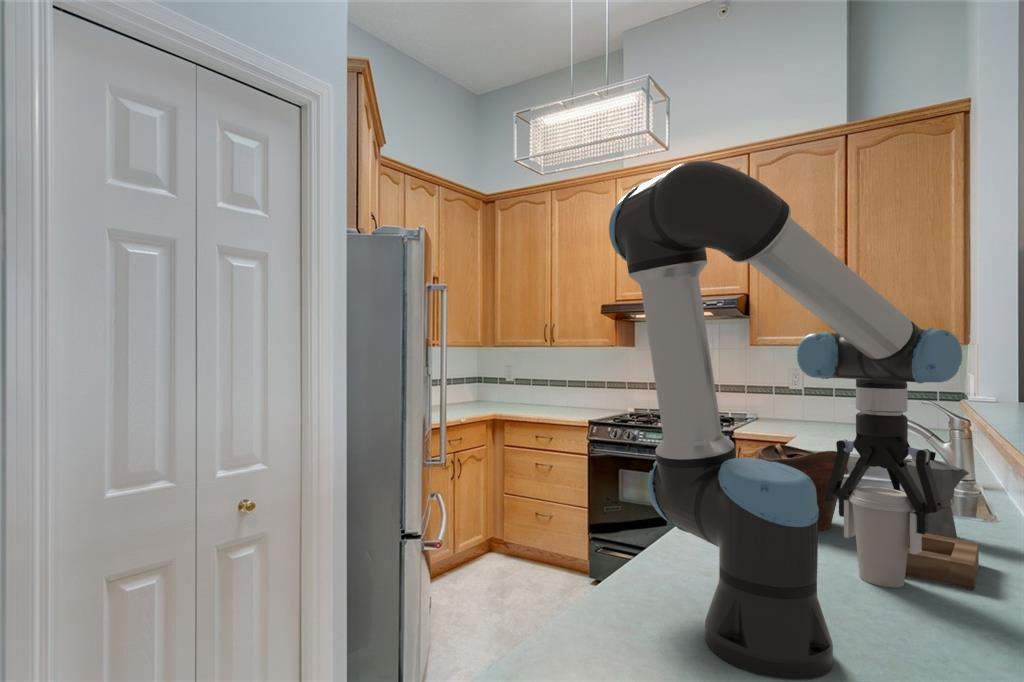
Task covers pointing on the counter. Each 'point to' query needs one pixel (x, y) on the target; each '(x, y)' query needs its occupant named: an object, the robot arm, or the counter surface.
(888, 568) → the coffee cup
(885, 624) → the counter surface
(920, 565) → the holder
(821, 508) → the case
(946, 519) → the coffeepot
